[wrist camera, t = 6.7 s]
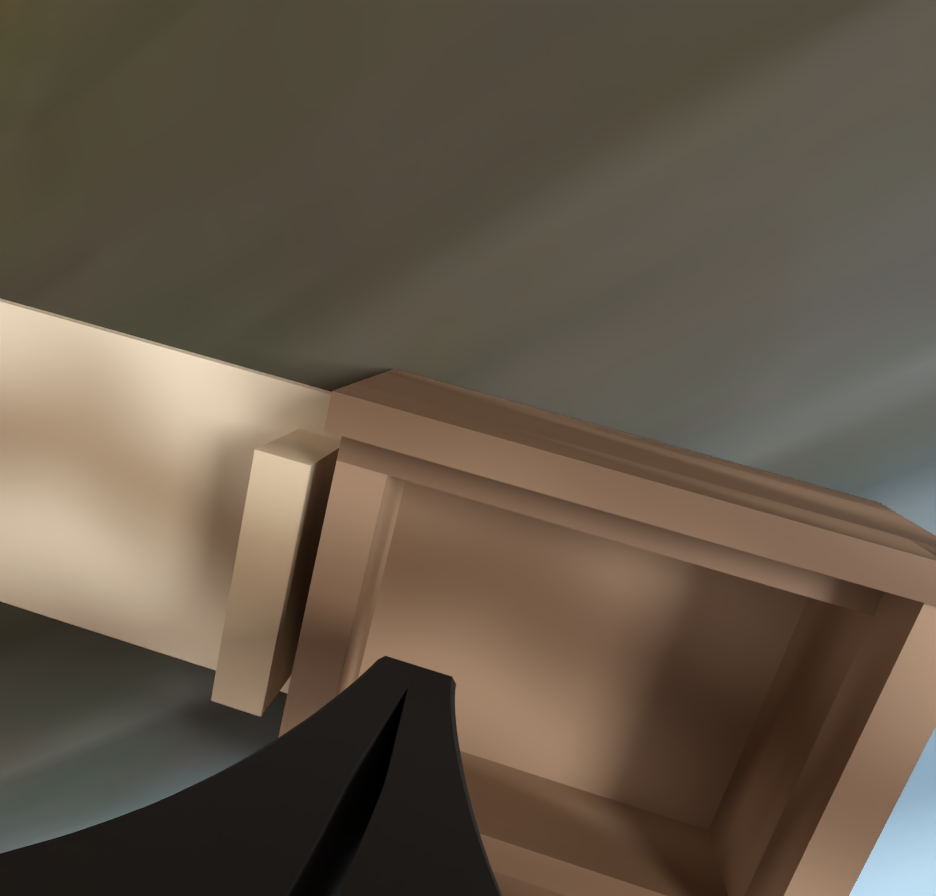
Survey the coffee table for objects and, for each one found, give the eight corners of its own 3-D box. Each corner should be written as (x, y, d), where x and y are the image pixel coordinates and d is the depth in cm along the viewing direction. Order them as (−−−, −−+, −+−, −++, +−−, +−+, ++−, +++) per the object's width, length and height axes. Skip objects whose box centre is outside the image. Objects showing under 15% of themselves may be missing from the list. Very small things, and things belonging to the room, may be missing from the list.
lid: (311, 680, 17) (261, 756, 14) (-20, 574, 18) (-132, 626, 15) (373, 399, 15) (330, 420, 12) (-2, 293, 16) (-126, 290, 13)
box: (720, 864, 16) (774, 1049, 12) (312, 731, 17) (235, 863, 13) (880, 502, 13) (1015, 582, 10) (394, 368, 14) (332, 391, 10)
